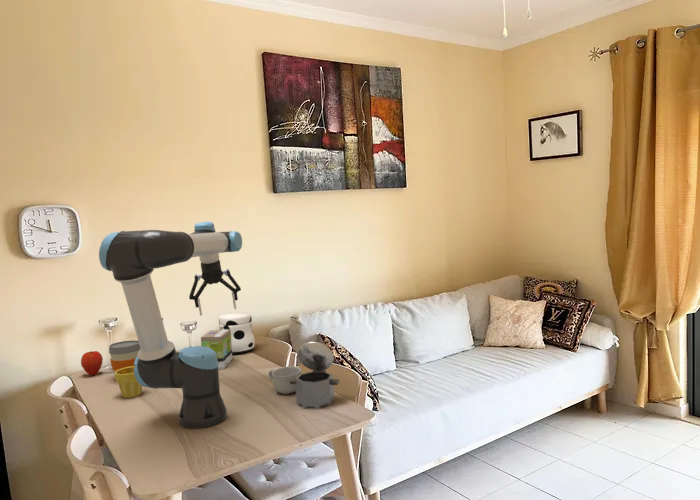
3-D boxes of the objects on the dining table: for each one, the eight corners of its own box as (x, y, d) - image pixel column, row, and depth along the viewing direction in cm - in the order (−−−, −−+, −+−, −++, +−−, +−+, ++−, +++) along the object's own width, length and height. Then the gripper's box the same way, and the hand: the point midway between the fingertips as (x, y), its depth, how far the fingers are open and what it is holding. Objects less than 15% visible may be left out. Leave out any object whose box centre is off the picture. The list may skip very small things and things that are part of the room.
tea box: (225, 369, 233) (222, 335, 232) (202, 370, 234) (199, 337, 232) (233, 359, 248) (230, 328, 247) (211, 361, 249) (209, 329, 247)
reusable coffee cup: (108, 379, 229) (105, 344, 228) (139, 372, 236) (136, 338, 235) (115, 385, 219) (112, 349, 218) (147, 378, 226) (144, 343, 225)
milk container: (261, 346, 270) (258, 311, 269) (246, 356, 253) (243, 318, 252) (229, 346, 274) (226, 311, 273) (213, 356, 257) (210, 318, 256)
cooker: (334, 409, 178) (333, 382, 178) (286, 408, 182) (285, 381, 181) (344, 395, 191) (342, 370, 191) (299, 394, 195) (297, 369, 194)
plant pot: (135, 400, 199) (133, 374, 199) (111, 399, 202) (108, 374, 201) (151, 390, 210) (149, 366, 209) (127, 390, 212) (125, 365, 211)
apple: (84, 379, 230) (82, 354, 229) (80, 375, 236) (77, 351, 236) (106, 375, 235) (103, 350, 234) (101, 371, 242) (98, 347, 241)
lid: (330, 342, 184) (331, 338, 186) (294, 342, 187) (296, 338, 188) (335, 371, 190) (337, 366, 192) (301, 370, 193) (303, 366, 194)
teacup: (308, 390, 199) (307, 369, 199) (286, 398, 192) (284, 376, 191) (284, 383, 209) (283, 363, 208) (262, 391, 201) (260, 370, 201)
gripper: (240, 253, 220) (248, 302, 225) (177, 263, 213) (186, 314, 218) (242, 257, 213) (250, 308, 218) (177, 268, 206) (186, 320, 211)
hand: (218, 311), depth 218 cm, fingers open, 13 cm apart
